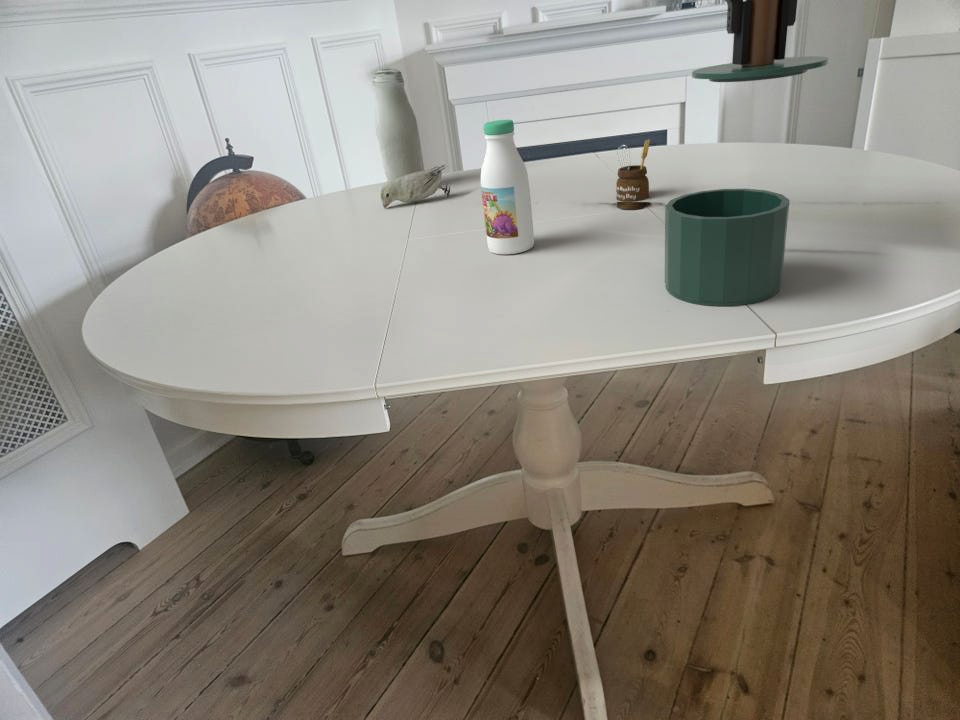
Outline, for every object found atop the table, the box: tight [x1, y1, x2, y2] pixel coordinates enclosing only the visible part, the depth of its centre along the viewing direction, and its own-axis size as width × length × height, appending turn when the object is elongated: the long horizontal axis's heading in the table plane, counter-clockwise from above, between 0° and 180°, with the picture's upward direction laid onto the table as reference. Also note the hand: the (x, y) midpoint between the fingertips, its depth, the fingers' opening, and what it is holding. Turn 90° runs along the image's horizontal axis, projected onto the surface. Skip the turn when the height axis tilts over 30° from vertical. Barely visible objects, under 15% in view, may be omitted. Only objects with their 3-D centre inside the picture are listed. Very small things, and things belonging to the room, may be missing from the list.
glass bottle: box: [372, 67, 425, 181], centre depth 153 cm, size 10×10×28 cm
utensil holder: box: [615, 138, 651, 211], centre depth 116 cm, size 6×6×12 cm
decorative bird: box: [380, 162, 452, 209], centre depth 143 cm, size 5×16×7 cm, turn 105°
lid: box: [691, 0, 829, 83], centre depth 73 cm, size 15×15×9 cm
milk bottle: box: [480, 119, 535, 255], centre depth 100 cm, size 8×8×20 cm
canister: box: [664, 188, 791, 307], centre depth 77 cm, size 14×14×10 cm
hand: (758, 61), depth 75 cm, fingers closed on lid, 4 cm apart
